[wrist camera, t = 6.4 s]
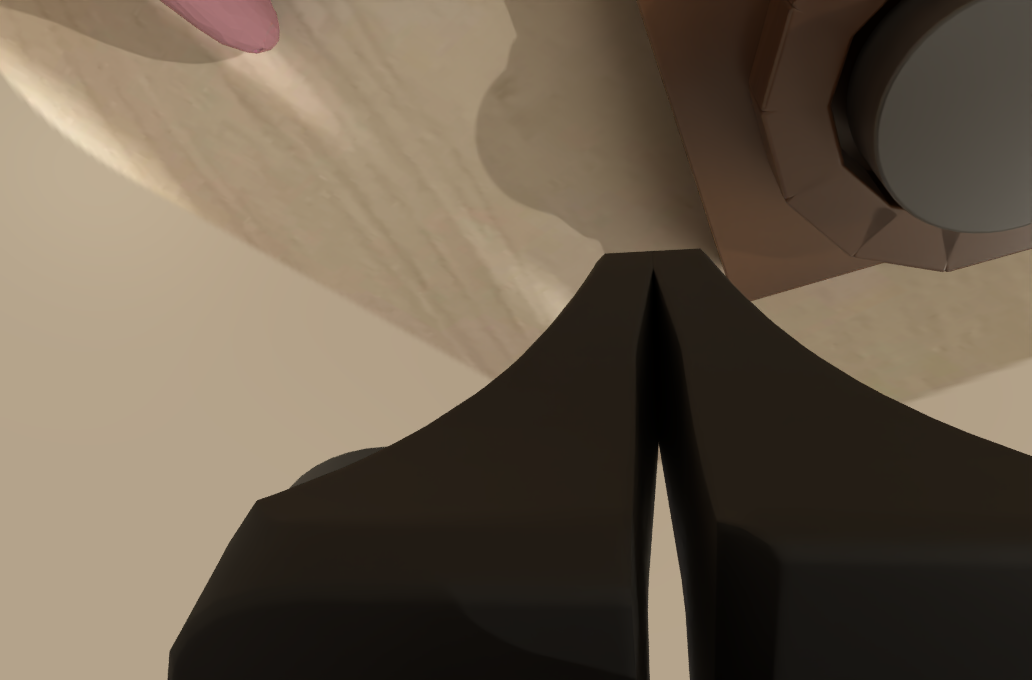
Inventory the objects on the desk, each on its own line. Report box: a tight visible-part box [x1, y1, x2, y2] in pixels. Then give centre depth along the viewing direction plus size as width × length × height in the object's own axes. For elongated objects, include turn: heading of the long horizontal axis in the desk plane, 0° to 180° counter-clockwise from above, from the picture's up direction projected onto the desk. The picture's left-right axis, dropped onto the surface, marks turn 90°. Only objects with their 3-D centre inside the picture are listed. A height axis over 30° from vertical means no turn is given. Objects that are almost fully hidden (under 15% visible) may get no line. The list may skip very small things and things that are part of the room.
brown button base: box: [636, 0, 1032, 301], centre depth 16 cm, size 8×10×4 cm
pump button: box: [847, 0, 1032, 233], centre depth 14 cm, size 4×4×2 cm
